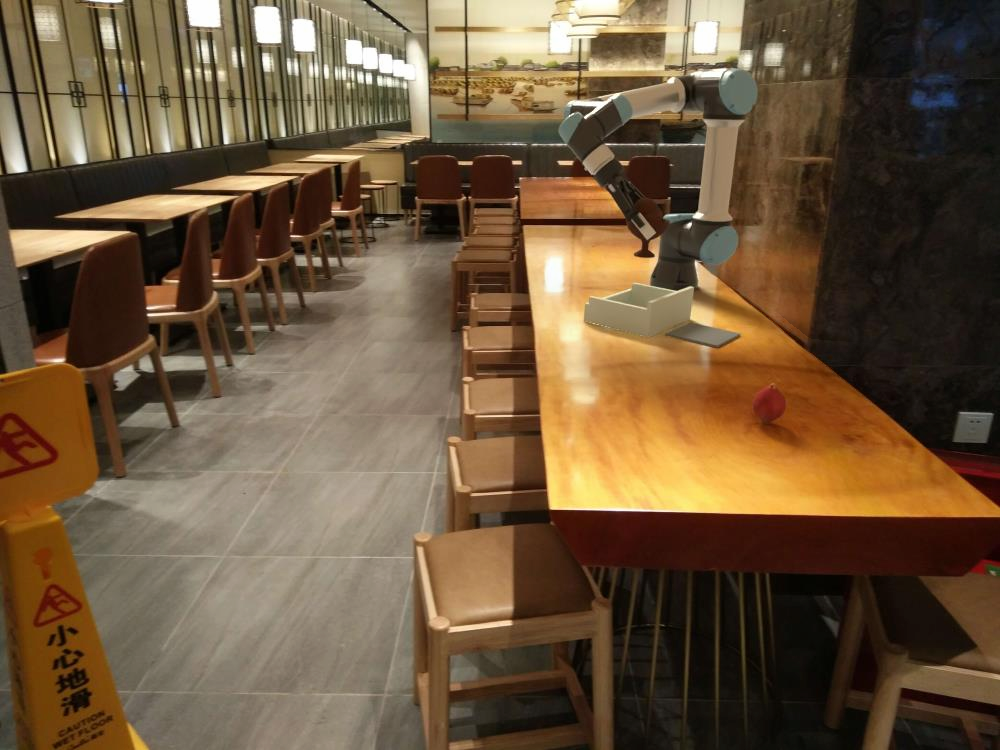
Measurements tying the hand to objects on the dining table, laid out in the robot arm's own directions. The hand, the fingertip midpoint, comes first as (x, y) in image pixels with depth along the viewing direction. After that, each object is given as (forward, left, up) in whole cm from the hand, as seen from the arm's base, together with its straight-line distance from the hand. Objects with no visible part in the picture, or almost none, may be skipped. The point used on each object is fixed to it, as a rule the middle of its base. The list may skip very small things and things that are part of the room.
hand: (657, 233), depth 191 cm
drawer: (+1, -3, -24) cm, 24 cm away
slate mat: (+1, +16, -24) cm, 29 cm away
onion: (+44, +49, -24) cm, 70 cm away
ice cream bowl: (+1, -3, -6) cm, 7 cm away
